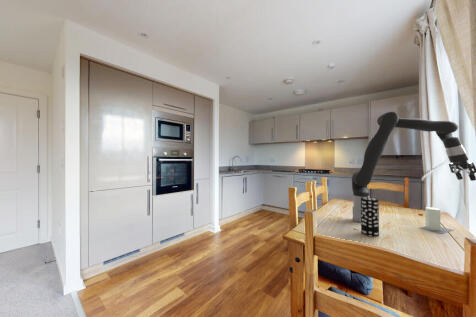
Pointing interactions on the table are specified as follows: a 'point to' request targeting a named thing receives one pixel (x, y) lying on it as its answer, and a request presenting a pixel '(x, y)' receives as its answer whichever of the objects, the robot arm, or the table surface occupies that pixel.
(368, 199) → the spotted tube
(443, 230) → the mat
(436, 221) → the sage block
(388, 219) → the table surface
